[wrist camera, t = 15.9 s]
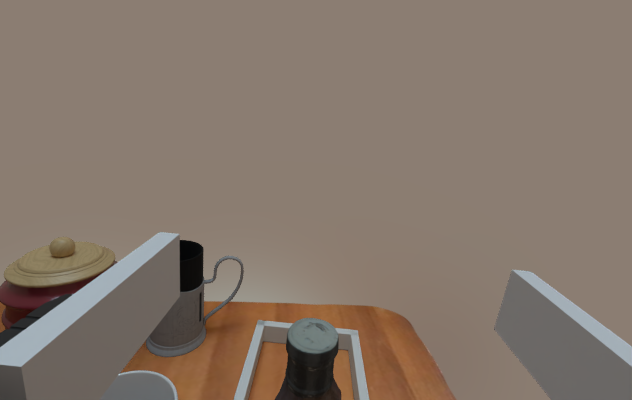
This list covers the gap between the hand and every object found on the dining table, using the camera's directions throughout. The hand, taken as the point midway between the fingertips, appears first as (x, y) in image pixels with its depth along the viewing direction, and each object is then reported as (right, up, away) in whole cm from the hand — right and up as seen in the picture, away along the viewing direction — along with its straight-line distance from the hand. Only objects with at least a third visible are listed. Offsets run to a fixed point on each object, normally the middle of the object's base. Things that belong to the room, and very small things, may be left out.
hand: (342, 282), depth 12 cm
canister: (-36, -19, +32) cm, 52 cm away
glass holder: (-21, -19, +38) cm, 47 cm away
